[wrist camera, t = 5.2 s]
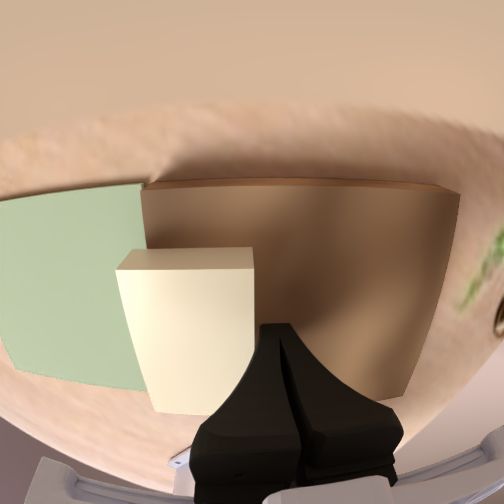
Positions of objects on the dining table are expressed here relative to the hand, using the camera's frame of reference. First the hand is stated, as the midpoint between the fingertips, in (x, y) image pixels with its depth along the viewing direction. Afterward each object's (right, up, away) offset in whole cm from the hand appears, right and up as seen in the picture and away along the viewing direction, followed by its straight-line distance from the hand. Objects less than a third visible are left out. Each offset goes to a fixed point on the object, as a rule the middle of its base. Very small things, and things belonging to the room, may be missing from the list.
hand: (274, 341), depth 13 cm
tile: (-3, 0, 0) cm, 3 cm away
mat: (-13, +1, +3) cm, 13 cm away
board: (+2, +1, +3) cm, 3 cm away
